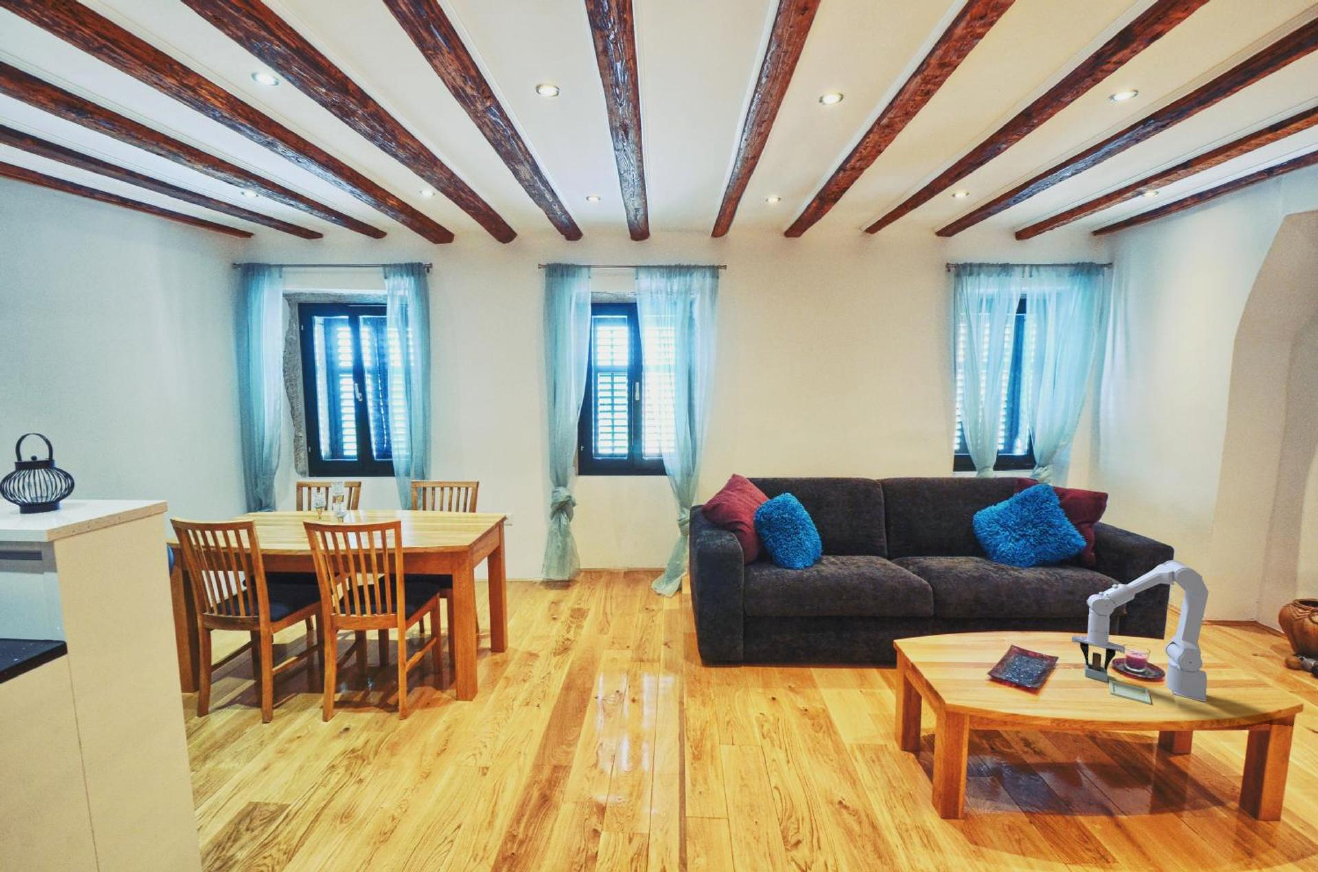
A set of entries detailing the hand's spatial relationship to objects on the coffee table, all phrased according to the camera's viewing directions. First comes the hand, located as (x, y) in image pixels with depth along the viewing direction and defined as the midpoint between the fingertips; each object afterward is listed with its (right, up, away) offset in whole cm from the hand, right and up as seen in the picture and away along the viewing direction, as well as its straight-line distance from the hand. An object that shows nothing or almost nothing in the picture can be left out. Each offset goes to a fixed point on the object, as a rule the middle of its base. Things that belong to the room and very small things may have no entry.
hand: (1096, 666), depth 189 cm
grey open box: (0, -4, 0) cm, 4 cm away
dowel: (0, -3, 0) cm, 3 cm away
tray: (+2, -5, -10) cm, 12 cm away
